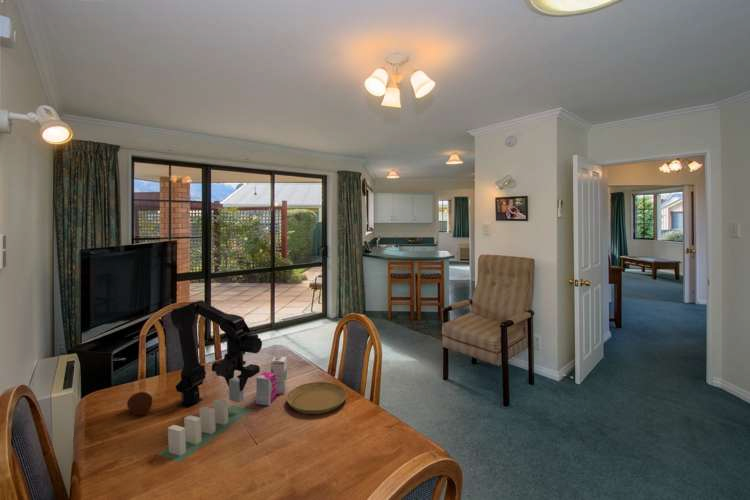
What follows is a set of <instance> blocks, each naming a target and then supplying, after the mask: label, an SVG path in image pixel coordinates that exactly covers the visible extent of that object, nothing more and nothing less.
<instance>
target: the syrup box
mask: <svg viewBox="0 0 750 500" xmlns="http://www.w3.org/2000/svg"><path fill="white" fill-rule="evenodd" d="M270 373H275V374H276V395H284V394H286V390H287V387H288V384H287V382H288V377H287V376H288V374H287V373H288V359H287V356H274V357H273V358H272V360H271V362H270Z"/></svg>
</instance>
